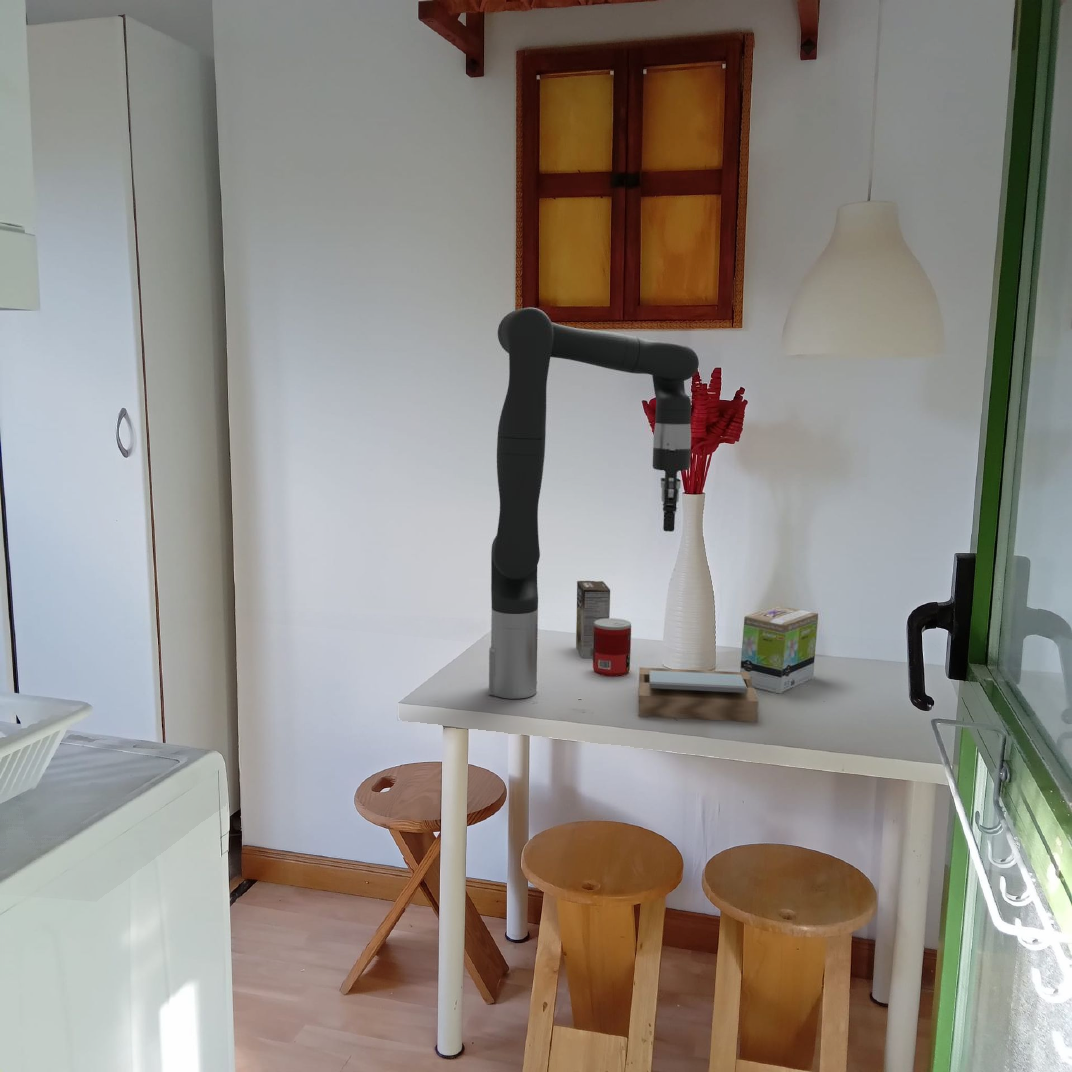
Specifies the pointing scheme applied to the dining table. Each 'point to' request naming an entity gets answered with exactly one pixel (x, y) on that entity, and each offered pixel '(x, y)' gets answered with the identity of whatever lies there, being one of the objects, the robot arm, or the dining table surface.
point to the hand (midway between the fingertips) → (668, 530)
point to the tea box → (779, 647)
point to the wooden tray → (696, 700)
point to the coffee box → (590, 613)
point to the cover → (697, 681)
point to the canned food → (611, 647)
